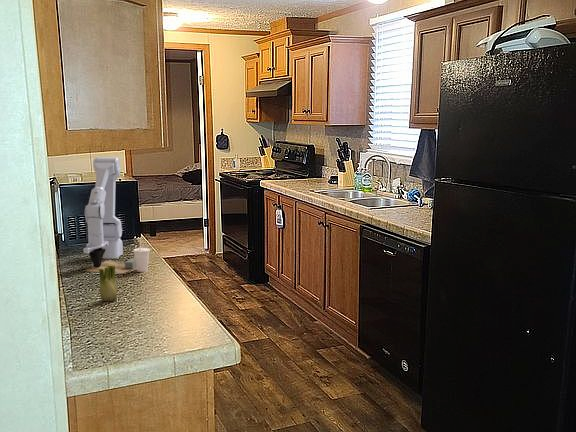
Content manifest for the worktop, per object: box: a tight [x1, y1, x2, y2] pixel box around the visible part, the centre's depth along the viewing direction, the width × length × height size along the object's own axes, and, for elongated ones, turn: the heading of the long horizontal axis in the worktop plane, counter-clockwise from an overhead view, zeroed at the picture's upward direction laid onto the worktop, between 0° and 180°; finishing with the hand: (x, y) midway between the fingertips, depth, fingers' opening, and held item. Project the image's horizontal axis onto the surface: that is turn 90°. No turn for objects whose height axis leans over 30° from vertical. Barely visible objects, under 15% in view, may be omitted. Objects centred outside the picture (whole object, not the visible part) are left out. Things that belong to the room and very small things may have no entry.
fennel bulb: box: [98, 265, 118, 302], centre depth 180 cm, size 6×5×12 cm
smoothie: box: [132, 238, 151, 273], centre depth 212 cm, size 6×6×14 cm
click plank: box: [84, 259, 126, 273], centre depth 219 cm, size 16×8×1 cm, turn 167°
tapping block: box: [124, 257, 136, 270], centre depth 219 cm, size 7×3×2 cm, turn 177°
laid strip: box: [115, 263, 137, 275], centre depth 217 cm, size 16×8×1 cm, turn 167°
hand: (97, 267), depth 217 cm, fingers closed, pressing on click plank
